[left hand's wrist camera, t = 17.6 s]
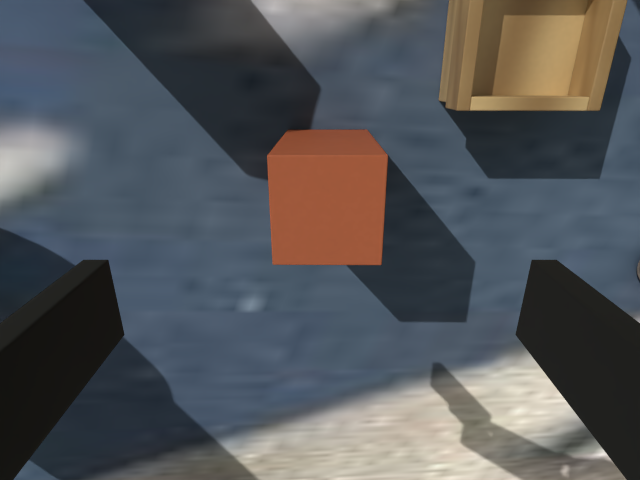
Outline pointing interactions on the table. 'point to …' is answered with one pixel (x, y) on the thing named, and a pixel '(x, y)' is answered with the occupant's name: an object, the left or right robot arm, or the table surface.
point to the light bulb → (638, 270)
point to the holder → (529, 54)
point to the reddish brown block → (327, 198)
